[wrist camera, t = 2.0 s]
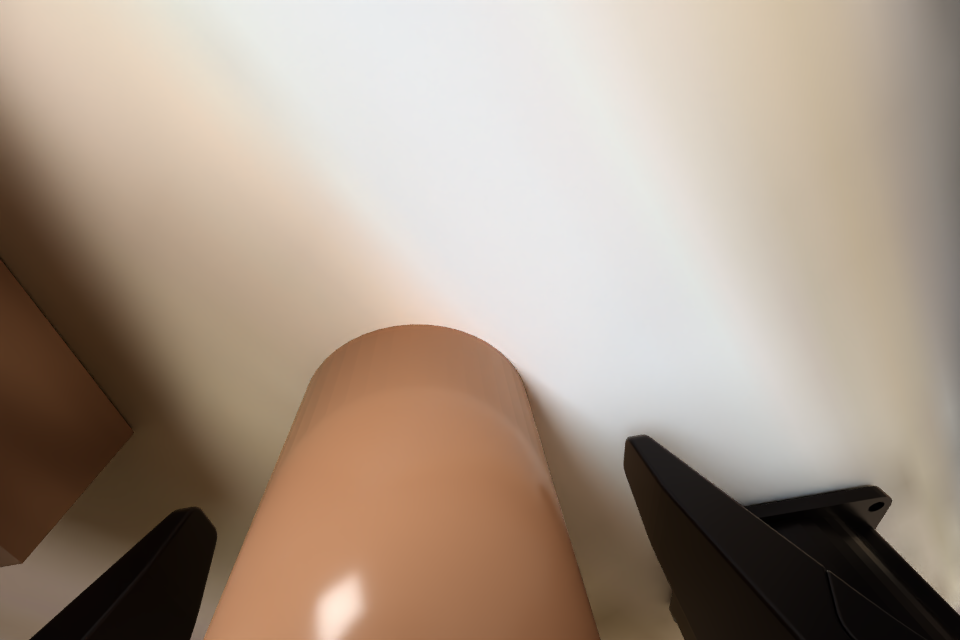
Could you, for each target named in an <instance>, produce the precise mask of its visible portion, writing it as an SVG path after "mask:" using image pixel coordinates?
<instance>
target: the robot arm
mask: <svg viewBox="0 0 960 640" xmlns="http://www.w3.org/2000/svg"><path fill="white" fill-rule="evenodd" d="M624 470H625V474H626V477H627V480H628V482H629V485H630V488H631V491H632V494H633V496H634V499H635V502H636V505H637V507H638V510H639V513H640V516H641V519H642V521H643V524H644V527H645V530H646V532H647V535H648V538H649V540H650V543H651V546H652V548H653V550H654V552H655V554H656V557H657V559H658V561H659V563H660V565H661V567H662V569H663V571H664V573H665V575H666V577H667V580H668V582H669V584H670V586H671V588H672V590H673V594H672V598H671V602H670V606H669V610H670V612H671V615H672V617H673V619H674V621H675V622H676V623H677V624H678V626H679V629H680V631H681V633H682V635H683V637H684V640H960V615H959V614H958V613H957V612H956V611H955V610H954V609H953V608H952V607H951V606H950V605H949V604H948V603H947V602H946V601H945V600H944V599H943V598H942V597H941V596H940V595H939V594H938V593H937V592H936V591H935V590H934V589H933V588H932V587H931V586H930V585H929V584H928V583H927V582H926V581H925V580H924V579H923V578H922V577H921V576H920V575H919V574H918V573H917V572H916V571H915V570H914V569H913V568H912V567H911V566H910V565H909V564H908V563H907V562H906V561H905V560H904V559H903V558H902V557H901V556H900V555H899V554H898V553H897V552H896V551H895V550H894V549H893V548H892V547H891V546H890V545H889V544H888V543H887V542H886V541H885V539H884V538H883V537H882V536H881V535H880V534H879V533H878V532H877V531H876V530H875V529H876V527H877V526H878V524H879V522H880V521H881V519H882V518H883V516H884V515H885V513H886V512H887V510H888V508H889V507H890V505H891V503H892V499H891V498H890V497H889V496H888V495H887V494H886V493H885V492H884V491H883V490H881V489H880V488H879V487H877V486H870V487H864V488H858V489H852V490H846V491H840V492H834V493H828V494H822V495H816V496H810V497H804V498H798V499H793V500H787V501H781V502H775V503H769V504H763V505H757V506H751V507H743V506H742V505H740V504H739V503H738V502H736V501H735V500H734V499H732V498H731V497H730V496H728V495H727V494H726V493H724V492H723V491H722V490H720V489H719V488H718V487H716V486H715V485H714V484H712V483H711V482H710V481H708V480H707V479H706V478H704V477H703V476H702V475H700V474H699V473H698V472H696V471H695V470H693V469H692V468H691V467H689V466H688V465H687V464H685V463H684V462H683V461H681V460H680V459H679V458H677V457H676V456H675V455H673V454H672V453H671V452H669V451H668V450H667V449H665V448H664V447H663V446H661V445H660V444H659V443H657V442H656V441H655V440H653V439H652V438H651V437H649V436H647V435H637V436H631V437H628V438H627V439H626V442H625V452H624ZM216 541H217V532H216V529H215V527H214V526H213V524H212V523H211V522H210V520H209V519H208V518H207V516H206V515H205V514H204V513H203V511H202V510H201V509H200V508H198V507H189V508H183V509H178V510H175V511H174V512H172V513H171V514H170V515H168V516H167V517H166V518H165V519H164V520H163V521H162V522H161V523H159V524H158V525H157V526H156V527H155V528H154V529H153V530H152V531H151V532H149V533H148V534H147V535H146V536H145V537H144V538H143V539H142V540H140V541H139V542H138V543H137V544H136V545H135V546H134V547H133V548H131V549H130V550H129V551H128V552H127V553H126V554H125V555H124V556H123V557H121V558H120V559H119V560H118V561H117V562H116V563H115V564H114V565H112V566H111V567H110V568H109V569H108V570H107V571H106V572H105V573H103V574H102V575H101V576H100V577H99V578H98V579H97V580H96V581H94V582H93V583H92V584H91V585H90V586H89V587H88V588H87V589H86V590H84V591H83V592H82V593H81V594H80V595H79V596H78V597H77V598H75V599H74V600H73V601H72V602H71V603H70V604H69V605H68V606H66V607H65V608H64V609H63V610H62V611H61V612H60V613H59V614H57V615H56V616H55V617H54V618H53V619H52V620H51V621H50V622H49V623H47V624H46V625H45V626H44V627H43V628H42V629H41V630H40V631H38V632H37V633H36V634H35V635H34V636H33V637H32V638H31V639H29V640H190V638H191V635H192V632H193V629H194V626H195V623H196V620H197V616H198V613H199V609H200V605H201V601H202V597H203V593H204V589H205V585H206V581H207V577H208V573H209V570H210V566H211V562H212V558H213V554H214V550H215V546H216Z"/></svg>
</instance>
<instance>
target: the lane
mask: <svg viewBox="0 0 960 640" xmlns="http://www.w3.org/2000/svg"><path fill="white" fill-rule="evenodd" d="M133 433H134V432H133V430H132V429H131V428H130V427H129V425H128V424H127V423H126V421H125V420H124V419H123V417H122V416H121V415H120V414H119V412H118V411H117V410H116V408H115V407H114V406H113V404H112V403H111V402H110V401H109V399H108V398H107V397H106V395H105V394H104V393H103V392H102V390H101V389H100V388H99V386H98V385H97V384H96V382H95V381H94V380H93V379H92V377H91V376H90V375H89V373H88V372H87V371H86V369H85V368H84V367H83V366H82V364H81V363H80V362H79V360H78V359H77V358H76V357H75V355H74V354H73V353H72V351H71V350H70V349H69V347H68V346H67V345H66V344H65V342H64V341H63V340H62V338H61V337H60V336H59V335H58V333H57V332H56V331H55V329H54V328H53V327H52V325H51V324H50V323H49V322H48V320H47V319H46V318H45V316H44V315H43V314H42V312H41V311H40V310H39V309H38V307H37V306H36V305H35V303H34V302H33V301H32V300H31V298H30V297H29V296H28V294H27V293H26V292H25V290H24V289H23V288H22V287H21V285H20V284H19V283H18V281H17V280H16V279H15V277H14V276H13V275H12V274H11V272H10V271H9V270H8V268H7V267H6V266H5V265H4V263H3V262H2V261H1V259H0V567H3V566H10V565H16V564H22V563H23V562H24V561H25V560H26V559H27V557H28V556H29V555H30V554H31V553H32V552H33V550H34V549H35V548H36V547H37V546H38V545H39V543H40V542H41V541H42V540H43V539H44V538H45V536H46V535H47V534H48V533H49V532H50V531H51V529H52V528H53V527H54V526H55V525H56V524H57V522H58V521H59V520H60V519H61V518H62V516H63V515H64V514H65V513H66V512H67V511H68V509H69V508H70V507H71V506H72V505H73V504H74V502H75V501H76V500H77V499H78V498H79V497H80V495H81V494H82V493H83V492H84V491H85V490H86V488H87V487H88V486H89V485H90V484H91V483H92V481H93V480H94V479H95V478H96V477H97V476H98V474H99V473H100V472H101V471H102V470H103V469H104V467H105V466H106V465H107V464H108V463H109V462H110V460H111V459H112V458H113V457H114V456H115V455H116V453H117V452H118V451H119V450H120V449H121V447H122V446H123V445H124V444H125V443H126V442H127V440H128V439H129V438H130V437H131V436H132V435H133Z"/></svg>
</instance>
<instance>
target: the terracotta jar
mask: <svg viewBox="0 0 960 640" xmlns="http://www.w3.org/2000/svg"><path fill="white" fill-rule="evenodd" d="M204 640H600V637H599V633H598V630H597V627H596V623H595V620H594V617H593V613H592V610H591V607H590V603H589V600H588V597H587V593H586V590H585V587H584V583H583V580H582V577H581V573H580V570H579V567H578V563H577V560H576V557H575V553H574V550H573V547H572V543H571V540H570V537H569V533H568V530H567V527H566V523H565V520H564V517H563V513H562V510H561V507H560V503H559V500H558V497H557V493H556V490H555V487H554V483H553V480H552V477H551V473H550V470H549V467H548V463H547V460H546V457H545V453H544V450H543V447H542V443H541V440H540V437H539V433H538V430H537V427H536V423H535V420H534V417H533V413H532V410H531V407H530V403H529V400H528V397H527V393H526V390H525V387H524V384H523V382H522V379H521V378H520V376H519V374H518V372H517V370H516V369H515V368H514V366H513V365H512V364H511V362H510V361H509V360H508V359H507V358H506V357H505V356H504V355H503V354H502V353H501V352H500V351H498V350H497V349H495V348H494V347H493V346H491V345H490V344H488V343H487V342H485V341H483V340H481V339H479V338H477V337H475V336H473V335H470V334H467V333H465V332H462V331H459V330H455V329H451V328H447V327H441V326H434V325H401V326H393V327H388V328H384V329H379V330H376V331H373V332H370V333H367V334H364V335H362V336H360V337H358V338H355V339H353V340H351V341H349V342H348V343H346V344H345V345H343V346H341V347H340V348H338V349H337V350H336V351H335V352H333V353H332V354H331V355H330V356H329V357H328V358H326V359H325V361H324V362H323V363H322V364H321V365H320V367H319V368H318V369H317V370H316V372H315V374H314V375H313V377H312V379H311V380H310V383H309V385H308V388H307V390H306V393H305V395H304V397H303V400H302V402H301V405H300V407H299V409H298V412H297V414H296V417H295V419H294V422H293V424H292V426H291V429H290V431H289V434H288V436H287V439H286V441H285V443H284V446H283V448H282V451H281V453H280V455H279V458H278V460H277V463H276V465H275V468H274V470H273V472H272V475H271V477H270V480H269V482H268V485H267V487H266V489H265V492H264V494H263V497H262V499H261V502H260V504H259V506H258V509H257V511H256V514H255V516H254V518H253V521H252V523H251V526H250V528H249V531H248V533H247V535H246V538H245V540H244V543H243V545H242V548H241V550H240V552H239V555H238V557H237V560H236V562H235V564H234V567H233V569H232V572H231V574H230V577H229V579H228V581H227V584H226V586H225V589H224V591H223V594H222V596H221V598H220V601H219V603H218V606H217V608H216V610H215V613H214V615H213V618H212V620H211V623H210V625H209V627H208V630H207V632H206V635H205V637H204Z"/></svg>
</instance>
